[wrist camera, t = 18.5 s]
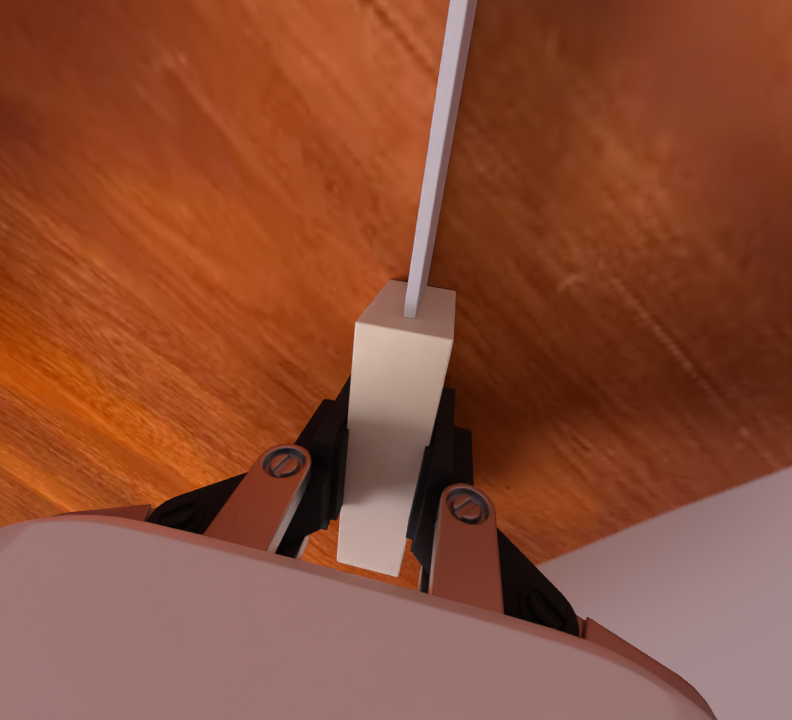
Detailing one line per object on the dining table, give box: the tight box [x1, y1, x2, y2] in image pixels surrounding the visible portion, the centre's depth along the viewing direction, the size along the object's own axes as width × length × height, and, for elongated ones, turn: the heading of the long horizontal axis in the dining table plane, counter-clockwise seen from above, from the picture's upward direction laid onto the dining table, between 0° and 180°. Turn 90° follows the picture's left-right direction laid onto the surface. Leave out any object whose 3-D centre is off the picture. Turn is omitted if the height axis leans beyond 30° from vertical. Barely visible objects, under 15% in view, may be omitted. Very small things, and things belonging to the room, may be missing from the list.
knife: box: [337, 0, 477, 577], centre depth 9 cm, size 19×2×4 cm, turn 172°
